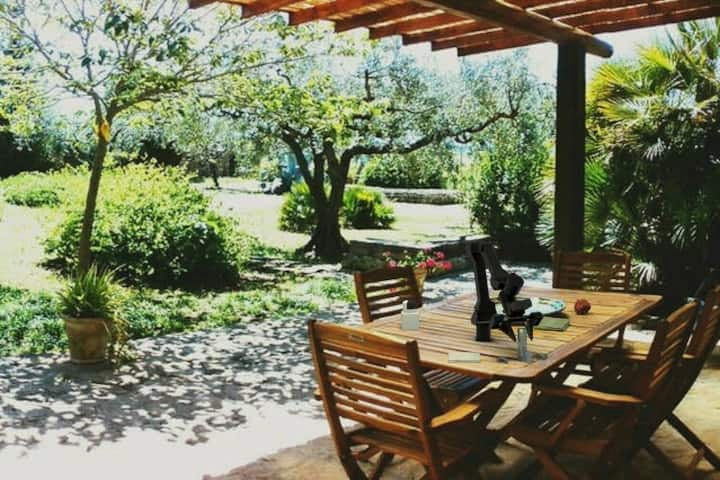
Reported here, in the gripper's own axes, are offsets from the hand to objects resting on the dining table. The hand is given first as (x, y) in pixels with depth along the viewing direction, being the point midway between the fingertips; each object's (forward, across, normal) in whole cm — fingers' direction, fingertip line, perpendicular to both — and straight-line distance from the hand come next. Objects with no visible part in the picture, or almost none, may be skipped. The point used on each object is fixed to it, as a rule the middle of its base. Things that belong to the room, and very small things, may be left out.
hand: (523, 340), depth 251 cm
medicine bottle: (-40, -21, +50) cm, 68 cm away
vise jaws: (+4, 0, +6) cm, 7 cm away
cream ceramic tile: (-2, -18, +12) cm, 22 cm away
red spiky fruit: (-42, +63, +53) cm, 92 cm away
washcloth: (-28, +37, +39) cm, 61 cm away
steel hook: (+5, 0, +5) cm, 7 cm away
